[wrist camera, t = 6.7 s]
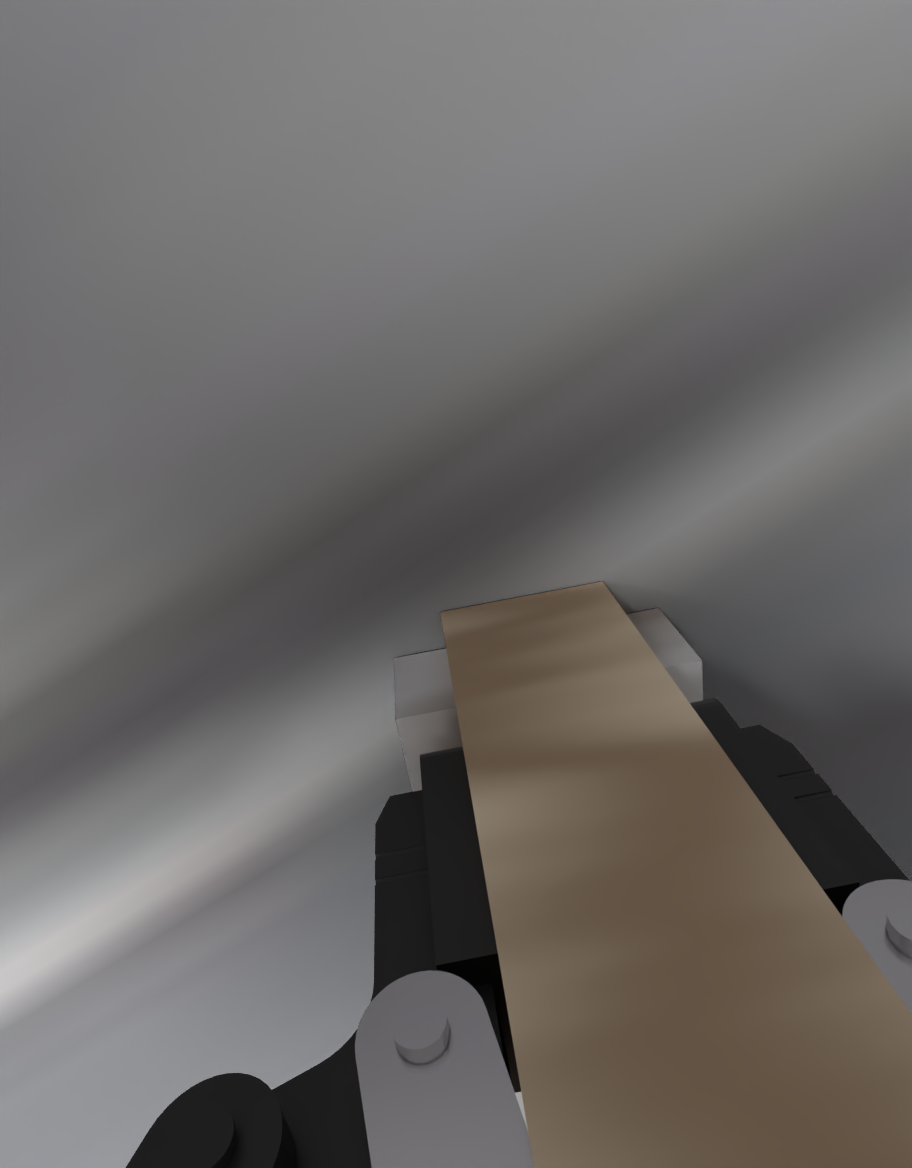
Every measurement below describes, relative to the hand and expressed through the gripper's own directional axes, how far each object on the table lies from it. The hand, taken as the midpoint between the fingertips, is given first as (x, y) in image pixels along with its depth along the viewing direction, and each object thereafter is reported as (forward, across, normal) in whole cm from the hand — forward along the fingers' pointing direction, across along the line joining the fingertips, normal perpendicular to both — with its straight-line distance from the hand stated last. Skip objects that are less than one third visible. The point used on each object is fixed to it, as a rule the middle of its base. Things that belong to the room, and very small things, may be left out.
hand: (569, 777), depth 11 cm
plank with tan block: (+3, 0, +11) cm, 12 cm away
